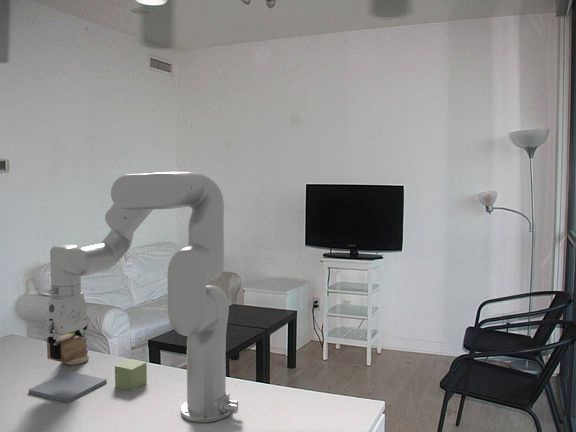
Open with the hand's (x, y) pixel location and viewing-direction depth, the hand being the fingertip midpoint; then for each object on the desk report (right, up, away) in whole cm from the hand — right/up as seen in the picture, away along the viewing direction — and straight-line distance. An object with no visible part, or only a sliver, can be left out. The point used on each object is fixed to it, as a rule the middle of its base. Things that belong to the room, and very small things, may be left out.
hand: (67, 353), depth 142 cm
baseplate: (0, -10, +1) cm, 10 cm away
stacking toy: (-6, -8, +21) cm, 23 cm away
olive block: (+17, -10, +3) cm, 19 cm away
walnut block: (0, -1, 0) cm, 1 cm away
